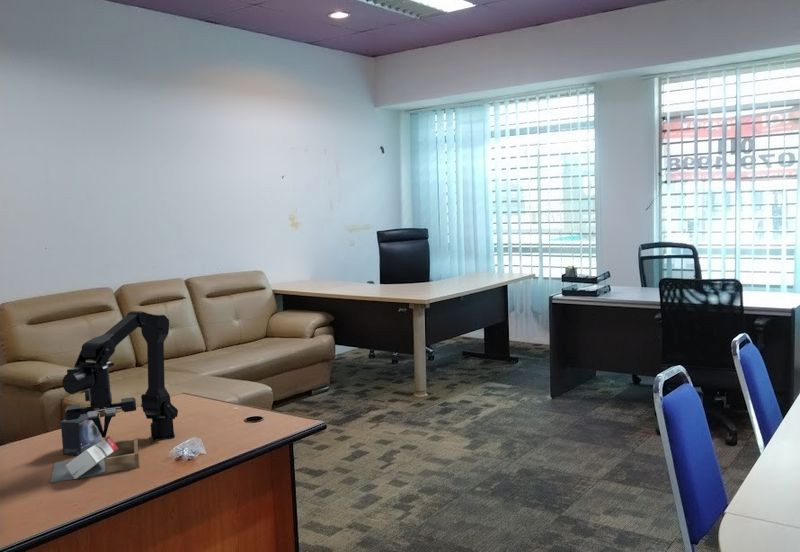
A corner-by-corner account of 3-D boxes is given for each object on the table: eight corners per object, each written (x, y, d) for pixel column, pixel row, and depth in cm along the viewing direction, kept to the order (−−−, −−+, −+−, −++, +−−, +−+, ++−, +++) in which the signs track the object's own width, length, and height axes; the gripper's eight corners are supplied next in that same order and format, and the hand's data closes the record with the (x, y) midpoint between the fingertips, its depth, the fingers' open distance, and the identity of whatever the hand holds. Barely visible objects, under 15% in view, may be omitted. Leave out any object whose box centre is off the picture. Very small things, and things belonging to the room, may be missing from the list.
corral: (138, 450, 217) (137, 438, 217) (139, 467, 203) (138, 453, 203) (106, 456, 214) (105, 443, 214) (105, 473, 200) (104, 459, 200)
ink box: (109, 434, 206) (86, 449, 194) (119, 448, 206) (97, 463, 194) (87, 450, 207) (63, 465, 196) (97, 464, 207) (74, 480, 196)
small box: (81, 455, 216) (77, 422, 214) (62, 455, 217) (58, 421, 216) (102, 443, 226) (99, 411, 225) (84, 443, 227) (81, 411, 226)
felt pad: (106, 455, 215) (106, 454, 215) (105, 473, 200) (105, 472, 200) (55, 463, 210) (55, 462, 210) (50, 483, 195) (50, 482, 195)
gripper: (133, 374, 215) (137, 424, 217) (65, 382, 209) (70, 434, 210) (134, 382, 205) (138, 435, 207) (62, 391, 198) (68, 446, 200)
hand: (104, 437), depth 206 cm, fingers closed
